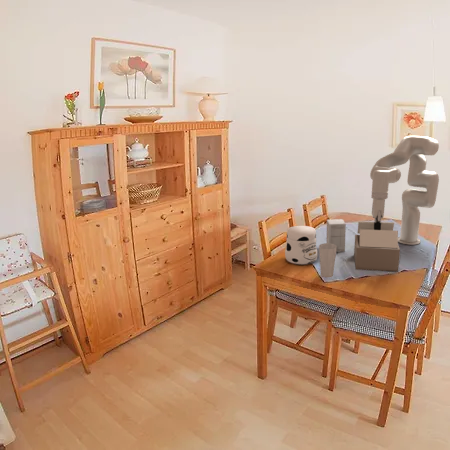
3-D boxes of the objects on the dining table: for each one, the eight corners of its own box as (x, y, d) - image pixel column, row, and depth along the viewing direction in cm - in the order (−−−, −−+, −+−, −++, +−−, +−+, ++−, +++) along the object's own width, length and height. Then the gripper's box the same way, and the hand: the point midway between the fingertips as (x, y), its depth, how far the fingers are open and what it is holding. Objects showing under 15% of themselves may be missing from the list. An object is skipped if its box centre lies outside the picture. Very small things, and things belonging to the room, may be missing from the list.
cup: (336, 279, 189) (337, 249, 184) (318, 278, 190) (319, 249, 186) (335, 272, 196) (336, 243, 192) (318, 271, 198) (318, 242, 194)
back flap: (357, 233, 212) (357, 233, 212) (392, 234, 207) (392, 234, 208) (358, 222, 206) (358, 221, 207) (394, 223, 202) (394, 222, 202)
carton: (354, 254, 216) (355, 234, 213) (392, 256, 211) (394, 236, 207) (355, 269, 198) (356, 247, 194) (398, 272, 193) (400, 249, 189)
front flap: (359, 229, 195) (359, 229, 194) (397, 230, 190) (397, 230, 190) (359, 246, 194) (359, 246, 193) (397, 248, 189) (397, 248, 189)
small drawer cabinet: (342, 246, 230) (343, 218, 225) (345, 251, 221) (346, 223, 216) (325, 246, 231) (326, 219, 226) (328, 252, 222) (329, 224, 217)
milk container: (315, 268, 201) (316, 236, 196) (282, 266, 207) (282, 234, 201) (318, 256, 217) (319, 225, 212) (287, 254, 222) (287, 224, 217)
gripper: (370, 191, 201) (368, 225, 207) (372, 198, 187) (370, 234, 193) (385, 191, 199) (383, 225, 205) (389, 198, 185) (386, 234, 191)
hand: (377, 229), depth 199 cm, fingers closed
